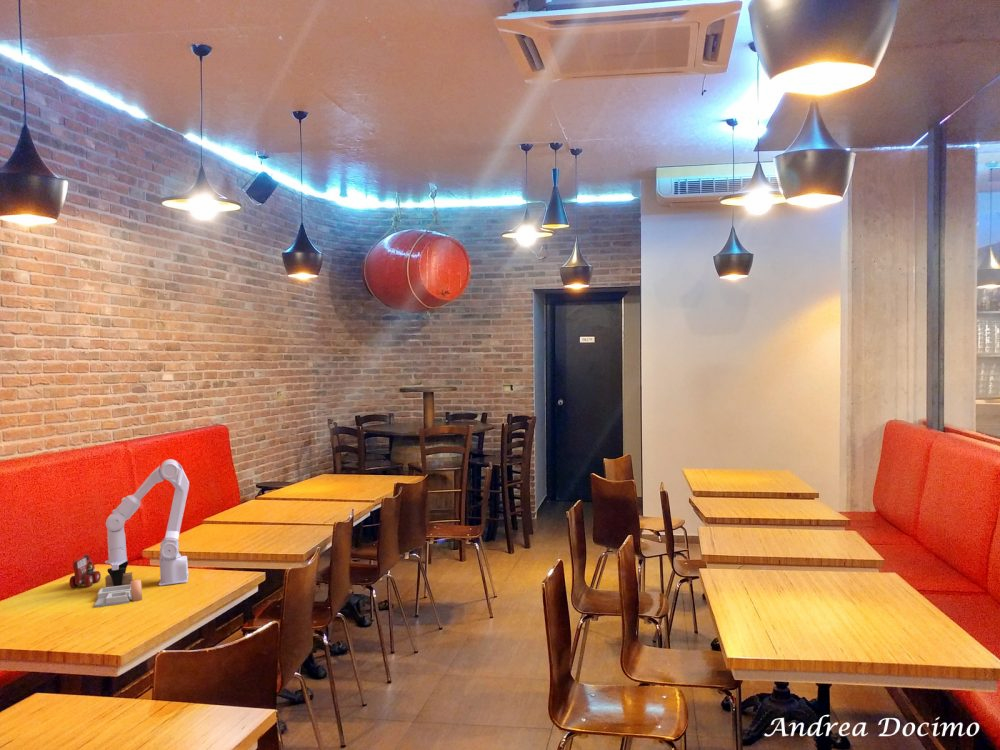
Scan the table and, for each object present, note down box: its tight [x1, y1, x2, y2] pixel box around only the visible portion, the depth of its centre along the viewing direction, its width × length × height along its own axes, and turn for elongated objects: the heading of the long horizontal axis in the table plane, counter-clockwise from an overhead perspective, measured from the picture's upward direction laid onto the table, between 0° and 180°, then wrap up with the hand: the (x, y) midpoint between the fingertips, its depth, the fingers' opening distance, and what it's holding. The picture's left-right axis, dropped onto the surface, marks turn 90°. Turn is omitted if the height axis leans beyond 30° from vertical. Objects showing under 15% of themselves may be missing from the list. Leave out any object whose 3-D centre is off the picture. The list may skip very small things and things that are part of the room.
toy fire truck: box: [68, 554, 101, 588], centre depth 285 cm, size 7×12×10 cm, turn 0°
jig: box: [93, 584, 132, 608], centre depth 266 cm, size 10×14×3 cm
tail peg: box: [131, 579, 143, 602], centre depth 264 cm, size 3×3×6 cm
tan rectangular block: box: [104, 572, 134, 588], centre depth 277 cm, size 8×3×5 cm, turn 108°
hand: (119, 585), depth 277 cm, fingers open, 6 cm apart
